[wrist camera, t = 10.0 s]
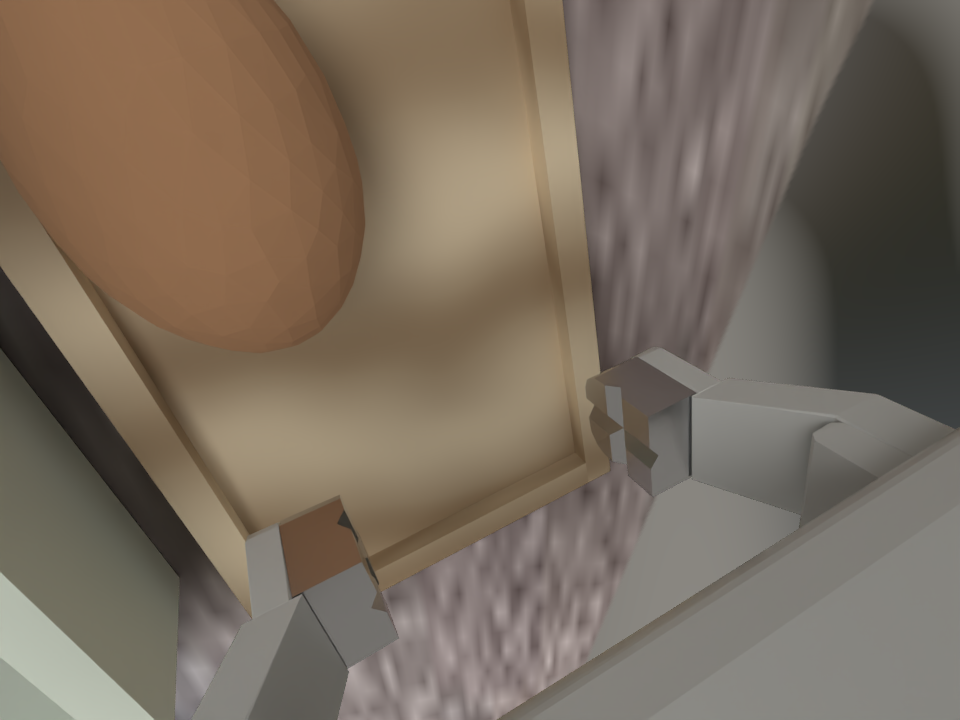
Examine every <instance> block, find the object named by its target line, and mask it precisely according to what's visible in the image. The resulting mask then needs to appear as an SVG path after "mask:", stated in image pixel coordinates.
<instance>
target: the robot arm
mask: <svg viewBox="0 0 960 720" xmlns="http://www.w3.org/2000/svg"><path fill="white" fill-rule="evenodd" d="M585 389H586V398H587V399H588V400H589V401H590V402H592V403H593V404H594V407H593V409H592V412H591V414H590V416H589V421H590V426H591V432H592V434H593V436H594V438H595V440H596V443H597V445H598V446H599V447H600V449H601V450H602V451H603V453H604V454H605V455H606V456H607V457H608V458H609V459H611V460H612V461H613V462H618V463H622V464H626V465H627V469H628V476H629V477H630V478H632V479H633V480H634V481H635V482H636V483H637V484H638V485H639V486H641V487H642V488H643V489H644V490H645V491H646V492H647V493H648V494H650V495H651V496H652V497H654V496H656V495H658V494H660V493H662V492H663V491H665V490H667V489H669V488H671V487H673V486H675V485H677V484H679V483H681V482H683V481H684V480H687V479H689V478H690V477H692V480H695V481H698V482H701V483H704V484H707V485H711V486H714V487H717V488H720V489H723V490H726V491H729V492H732V493H735V494H738V495H741V496H744V497H747V498H750V499H753V500H756V501H760V502H763V503H766V504H769V505H772V506H775V507H778V508H781V509H784V510H787V511H790V512H793V513H796V514H799V515H801V518H800V525H799V529H798V530H796V531H794V532H793V533H791V534H790V535H788V536H787V537H785V538H783V539H782V540H780V541H779V542H777V543H775V544H774V545H772V546H771V547H769V548H768V549H766V550H765V551H763V552H761V553H760V554H758V555H756V556H755V557H753V558H752V559H750V560H749V561H747V562H745V563H744V564H742V565H741V566H739V567H738V568H736V569H735V570H733V571H731V572H730V573H728V574H726V575H725V576H723V577H722V578H720V579H719V580H717V581H716V582H714V583H712V584H711V585H709V586H708V587H706V588H704V589H703V590H701V591H700V592H698V593H696V594H695V595H693V596H692V597H690V598H689V599H687V600H686V601H684V602H682V603H681V604H679V605H678V606H676V607H674V608H673V609H671V610H670V611H668V612H666V613H665V614H663V615H662V616H660V617H659V618H657V619H655V620H654V621H652V622H651V623H649V624H648V625H646V626H644V627H643V628H641V629H640V630H638V631H636V632H635V633H633V634H632V635H630V636H628V637H627V638H625V639H624V640H622V641H621V642H619V643H617V644H616V645H614V646H613V647H611V648H609V649H608V650H606V651H605V652H603V653H602V654H600V655H598V656H597V657H595V658H594V659H592V660H590V661H589V662H587V663H586V664H584V665H583V666H581V667H579V668H578V669H576V670H575V671H573V672H571V673H570V674H568V675H567V676H565V677H564V678H562V679H560V680H559V681H557V682H556V683H554V684H552V685H551V686H549V687H548V688H546V689H545V690H543V691H541V692H540V693H538V694H537V695H535V696H533V697H532V698H530V699H529V700H527V701H526V702H524V703H522V704H521V705H519V706H518V707H516V708H514V709H513V710H511V711H510V712H508V713H507V714H505V715H503V716H502V717H500V718H499V719H497V720H960V427H959V428H957V429H956V430H955V429H953V428H951V427H949V426H946V425H944V424H942V423H940V422H937V421H935V420H933V419H931V418H928V417H926V416H924V415H922V414H920V413H917V412H915V411H913V410H911V409H909V408H906V407H904V406H902V405H900V404H898V403H895V402H893V401H891V400H889V399H886V398H884V397H882V396H880V395H877V394H870V393H861V392H851V391H842V390H833V389H825V388H816V387H806V386H797V385H788V384H779V383H770V382H761V381H751V380H743V379H734V378H727V379H725V380H723V381H720V380H719V379H717V378H715V377H713V376H711V375H710V374H708V373H706V372H704V371H702V370H700V369H699V368H697V367H695V366H693V365H691V364H690V363H688V362H686V361H684V360H682V359H681V358H679V357H677V356H675V355H673V354H672V353H670V352H668V351H666V350H664V349H663V348H660V347H652V348H650V349H648V350H646V351H644V352H642V353H640V354H638V355H636V356H634V357H632V358H631V359H629V360H627V361H625V362H623V363H621V364H619V365H617V366H614V367H612V368H610V369H608V370H606V371H604V372H602V373H600V374H598V375H595V376H593V377H591V378H589V379H587V382H586V386H585ZM245 549H246V559H247V570H248V580H249V591H250V601H251V611H252V620H250V621H248V622H246V623H244V624H242V626H241V627H240V629H239V631H238V633H237V635H236V637H235V639H234V641H233V643H232V644H231V646H230V648H229V650H228V652H227V654H226V656H225V658H224V659H223V661H222V663H221V665H220V667H219V669H218V671H217V673H216V674H215V676H214V678H213V680H212V682H211V684H210V686H209V688H208V689H207V691H206V693H205V695H204V697H203V699H202V701H201V703H200V704H199V706H198V708H197V710H196V712H195V714H194V716H193V718H192V719H191V720H337V718H338V714H339V710H340V706H341V702H342V698H343V694H344V690H345V686H346V682H347V678H348V673H349V671H348V670H347V669H348V668H350V667H351V666H353V665H355V664H356V663H358V662H360V661H361V660H363V659H365V658H366V657H368V656H370V655H372V654H373V653H375V652H377V651H378V650H380V649H382V648H383V647H385V646H387V645H388V644H390V643H392V642H394V641H395V640H397V639H399V637H398V634H397V631H396V628H395V625H394V623H393V620H392V617H391V614H390V611H389V609H388V606H387V603H386V601H385V599H384V597H383V595H382V593H381V590H380V588H379V586H378V585H379V581H378V578H377V576H376V573H375V570H374V568H373V565H372V563H371V560H370V558H369V555H368V553H367V551H366V548H365V546H364V544H363V541H362V539H361V537H360V535H359V533H358V531H357V530H355V528H354V525H353V522H352V520H351V517H350V514H349V511H348V509H347V507H346V505H345V503H344V501H343V499H342V498H341V496H340V495H338V496H335V497H333V498H331V499H329V500H326V501H324V502H322V503H319V504H317V505H315V506H313V507H310V508H308V509H306V510H304V511H301V512H299V513H297V514H294V515H292V516H290V517H288V518H285V519H283V520H281V521H280V522H279V523H275V524H273V525H271V526H268V527H266V528H264V529H262V530H259V531H257V532H255V533H253V534H251V535H248V536H247V539H246V542H245Z"/></svg>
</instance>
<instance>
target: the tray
mask: <svg viewBox="0 0 960 720" xmlns="http://www.w3.org/2000/svg"><path fill="white" fill-rule="evenodd" d="M274 1H275V2H276V4H277V5H278V6H279V7H280V8H281V10H282V11H283V12H284V13H285V14H286V15H287V17H288V18H289V19H290V20H291V22H292V24H293V25H294V27H295V29H296V30H297V32H298V33H299V35H300V37H301V38H302V40H303V42H304V43H305V45H306V46H307V48H308V50H309V51H310V53H311V55H312V56H313V58H314V59H315V61H316V63H317V64H318V66H319V68H320V69H321V71H322V72H323V74H324V76H325V78H326V81H327V83H328V85H329V88H330V90H331V92H332V95H333V97H334V99H335V101H336V104H337V106H338V108H339V111H340V113H341V115H342V117H343V120H344V122H345V125H346V128H347V131H348V134H349V136H350V139H351V142H352V145H353V148H354V151H355V154H356V157H357V161H358V165H359V170H360V175H361V179H362V185H363V199H364V212H365V231H364V239H363V246H362V253H361V258H360V262H359V265H358V269H357V273H356V276H355V280H354V284H353V286H352V288H351V290H350V292H349V294H348V296H347V298H346V300H345V302H344V304H343V306H342V308H341V309H340V310H339V311H338V312H337V313H336V315H335V316H334V317H333V318H332V319H331V320H330V322H329V323H328V324H327V325H326V326H325V327H324V328H323V330H322V331H320V332H319V333H318V334H316V335H315V336H313V337H311V338H309V339H308V340H306V341H304V342H302V343H301V344H299V345H296V346H293V347H288V348H284V349H280V350H275V351H270V352H265V353H252V352H241V351H232V350H227V349H222V348H218V347H213V346H209V345H205V344H202V343H198V342H195V341H191V340H188V339H185V338H183V337H181V336H178V335H176V334H173V333H171V332H169V331H166V330H164V329H162V328H159V327H157V326H155V325H154V324H152V323H150V322H148V321H147V320H145V319H144V318H142V317H141V316H139V315H138V314H136V313H135V312H133V311H132V310H130V309H129V308H127V307H126V306H124V305H123V304H121V303H120V302H118V301H117V300H115V299H114V298H112V297H111V296H109V295H108V294H107V293H106V292H104V291H103V290H102V289H101V288H100V287H99V286H97V285H96V284H95V283H94V282H93V281H91V280H90V279H89V278H88V277H87V276H86V275H85V274H84V273H83V272H82V271H81V270H80V269H79V268H78V266H77V265H76V264H75V263H74V262H73V261H72V260H71V259H70V258H69V257H68V256H67V254H66V253H65V252H64V251H63V250H62V249H61V248H60V247H59V246H58V245H57V244H56V242H55V241H54V240H53V239H52V238H51V236H50V235H49V233H48V232H47V231H46V229H45V228H44V227H43V225H42V224H41V222H40V221H39V220H38V218H37V217H36V216H35V214H34V213H33V211H32V210H31V209H30V207H29V206H28V205H27V203H26V202H25V200H24V199H23V198H22V196H21V195H20V194H19V192H18V190H17V189H16V187H15V185H14V183H13V182H12V180H11V178H10V176H9V174H8V173H7V171H6V169H5V167H4V166H3V164H2V162H1V160H0V267H1V268H2V269H3V271H4V272H5V274H6V275H7V276H8V278H9V279H10V281H11V282H12V283H13V285H14V286H15V288H16V289H17V290H18V292H19V293H20V295H21V296H22V297H23V299H24V300H25V302H26V303H27V304H28V306H29V307H30V309H31V310H32V311H33V313H34V314H35V316H36V317H37V318H38V320H39V321H40V323H41V324H42V325H43V327H44V328H45V330H46V331H47V332H48V334H49V335H50V337H51V338H52V339H53V341H54V342H55V344H56V345H57V347H58V348H59V349H60V351H61V352H62V354H63V355H64V356H65V358H66V359H67V361H68V362H69V363H70V365H71V366H72V368H73V369H74V370H75V372H76V373H77V375H78V376H79V377H80V379H81V380H82V382H83V383H84V384H85V386H86V387H87V389H88V390H89V391H90V393H91V394H92V396H93V397H94V398H95V400H96V401H97V403H98V404H99V405H100V407H101V408H102V410H103V411H104V412H105V414H106V415H107V417H108V418H109V419H110V421H111V422H112V424H113V425H114V426H115V428H116V429H117V431H118V432H119V433H120V435H121V436H122V438H123V439H124V440H125V442H126V443H127V445H128V446H129V447H130V449H131V450H132V452H133V453H134V454H135V456H136V457H137V459H138V460H139V461H140V463H141V464H142V466H143V467H144V468H145V470H146V471H147V473H148V474H149V475H150V477H151V478H152V480H153V481H154V482H155V484H156V485H157V487H158V488H159V489H160V491H161V492H162V494H163V495H164V496H165V498H166V499H167V501H168V502H169V503H170V505H171V506H172V508H173V509H174V510H175V512H176V513H177V515H178V516H179V517H180V519H181V520H182V522H183V523H184V524H185V526H186V527H187V529H188V530H189V531H190V533H191V534H192V536H193V537H194V538H195V540H196V541H197V543H198V544H199V545H200V547H201V548H202V550H203V551H204V552H205V554H206V555H207V557H208V558H209V559H210V561H211V562H212V564H213V565H214V566H215V568H216V569H217V571H218V572H219V573H220V575H221V576H222V578H223V579H224V580H225V582H226V583H227V585H228V586H229V587H230V589H231V590H232V592H233V593H234V594H235V596H236V597H237V599H238V600H239V601H240V603H241V604H242V606H243V607H244V608H245V610H246V611H247V613H248V614H249V615H250V617H251V618H252V611H251V601H250V591H249V580H248V570H247V559H246V549H245V542H246V539H247V536H248V535H251V534H253V533H255V532H257V531H259V530H262V529H264V528H266V527H268V526H271V525H273V524H275V523H279V522H280V521H281V520H283V519H285V518H288V517H290V516H292V515H294V514H297V513H299V512H301V511H304V510H306V509H308V508H310V507H313V506H315V505H317V504H319V503H322V502H324V501H326V500H329V499H331V498H333V497H335V496H338V495H340V496H341V498H342V499H343V501H344V503H345V505H346V507H347V509H348V511H349V514H350V517H351V520H352V522H353V525H354V528H355V530H357V531H358V533H359V535H360V537H361V539H362V541H363V544H364V546H365V548H366V551H367V553H368V555H369V558H370V560H371V563H372V565H373V568H374V570H375V573H376V576H377V578H378V581H379V585H378V586H379V588H380V590H381V592H382V591H384V590H385V589H387V588H389V587H391V586H393V585H395V584H397V583H399V582H401V581H402V580H404V579H406V578H408V577H410V576H412V575H414V574H416V573H418V572H420V571H421V570H423V569H425V568H427V567H429V566H431V565H433V564H435V563H437V562H439V561H440V560H442V559H444V558H446V557H448V556H450V555H452V554H454V553H456V552H458V551H459V550H461V549H463V548H465V547H467V546H469V545H471V544H473V543H475V542H476V541H478V540H480V539H482V538H484V537H486V536H488V535H490V534H492V533H494V532H495V531H497V530H499V529H501V528H503V527H505V526H507V525H509V524H511V523H513V522H514V521H516V520H518V519H520V518H522V517H524V516H526V515H528V514H530V513H532V512H533V511H535V510H537V509H539V508H541V507H543V506H545V505H547V504H549V503H550V502H552V501H554V500H556V499H558V498H560V497H562V496H564V495H566V494H568V493H569V492H571V491H573V490H575V489H577V488H579V487H581V486H583V485H585V484H587V483H588V482H590V481H592V480H594V479H596V478H598V477H600V476H602V475H604V474H606V473H607V472H609V471H610V462H609V458H608V457H607V456H606V455H605V454H604V453H603V451H602V450H601V449H600V447H599V446H598V445H597V443H596V440H595V438H594V436H593V434H592V432H591V426H590V421H589V416H590V414H591V412H592V409H593V407H594V404H593V403H592V402H590V401H589V400H588V399H587V398H586V389H585V386H586V382H587V379H589V378H591V377H593V376H595V375H598V374H600V364H599V355H598V345H597V335H596V325H595V315H594V306H593V296H592V286H591V276H590V266H589V257H588V247H587V237H586V227H585V217H584V208H583V198H582V188H581V178H580V168H579V159H578V149H577V139H576V129H575V119H574V110H573V100H572V90H571V80H570V70H569V61H568V51H567V41H566V31H565V21H564V12H563V2H562V0H274Z"/></svg>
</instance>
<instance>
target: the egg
mask: <svg viewBox="0 0 960 720" xmlns="http://www.w3.org/2000/svg"><path fill="white" fill-rule="evenodd" d="M0 160H1V162H2V164H3V166H4V167H5V169H6V171H7V173H8V174H9V176H10V178H11V180H12V182H13V183H14V185H15V187H16V189H17V190H18V192H19V194H20V195H21V196H22V198H23V199H24V200H25V202H26V203H27V205H28V206H29V207H30V209H31V210H32V211H33V213H34V214H35V216H36V217H37V218H38V220H39V221H40V222H41V224H42V225H43V227H44V228H45V229H46V231H47V232H48V233H49V235H50V236H51V238H52V239H53V240H54V241H55V242H56V244H57V245H58V246H59V247H60V248H61V249H62V250H63V251H64V252H65V253H66V254H67V256H68V257H69V258H70V259H71V260H72V261H73V262H74V263H75V264H76V265H77V266H78V268H79V269H80V270H81V271H82V272H83V273H84V274H85V275H86V276H87V277H88V278H89V279H90V280H91V281H93V282H94V283H95V284H96V285H97V286H99V287H100V288H101V289H102V290H103V291H104V292H106V293H107V294H108V295H109V296H111V297H112V298H114V299H115V300H117V301H118V302H120V303H121V304H123V305H124V306H126V307H127V308H129V309H130V310H132V311H133V312H135V313H136V314H138V315H139V316H141V317H142V318H144V319H145V320H147V321H148V322H150V323H152V324H154V325H155V326H157V327H159V328H162V329H164V330H166V331H169V332H171V333H173V334H176V335H178V336H181V337H183V338H185V339H188V340H191V341H195V342H198V343H202V344H205V345H209V346H213V347H218V348H222V349H227V350H232V351H241V352H252V353H265V352H270V351H275V350H280V349H284V348H288V347H293V346H296V345H299V344H301V343H302V342H304V341H306V340H308V339H309V338H311V337H313V336H315V335H316V334H318V333H319V332H320V331H322V330H323V328H324V327H325V326H326V325H327V324H328V323H329V322H330V320H331V319H332V318H333V317H334V316H335V315H336V313H337V312H338V311H339V310H340V309H341V308H342V306H343V304H344V302H345V300H346V298H347V296H348V294H349V292H350V290H351V288H352V286H353V284H354V280H355V276H356V273H357V269H358V265H359V262H360V258H361V253H362V246H363V239H364V231H365V212H364V199H363V185H362V179H361V175H360V170H359V165H358V161H357V157H356V154H355V151H354V148H353V145H352V142H351V139H350V136H349V134H348V131H347V128H346V125H345V122H344V120H343V117H342V115H341V113H340V111H339V108H338V106H337V104H336V101H335V99H334V97H333V95H332V92H331V90H330V88H329V85H328V83H327V81H326V78H325V76H324V74H323V72H322V71H321V69H320V68H319V66H318V64H317V63H316V61H315V59H314V58H313V56H312V55H311V53H310V51H309V50H308V48H307V46H306V45H305V43H304V42H303V40H302V38H301V37H300V35H299V33H298V32H297V30H296V29H295V27H294V25H293V24H292V22H291V20H290V19H289V18H288V17H287V15H286V14H285V13H284V12H283V11H282V10H281V8H280V7H279V6H278V5H277V4H276V2H275V1H274V0H0Z"/></svg>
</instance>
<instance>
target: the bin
mask: <svg viewBox="0 0 960 720" xmlns="http://www.w3.org/2000/svg"><path fill="white" fill-rule="evenodd" d="M179 584H180V578H179V577H178V575H177V574H176V573H175V571H174V570H173V569H172V568H171V566H170V565H169V564H168V562H167V561H166V560H165V559H164V557H163V556H162V555H161V554H160V552H159V551H158V550H157V548H156V547H155V546H154V545H153V543H152V542H151V541H150V539H149V538H148V537H147V536H146V534H145V533H144V532H143V530H142V529H141V528H140V527H139V525H138V524H137V523H136V521H135V520H134V519H133V518H132V516H131V515H130V514H129V512H128V511H127V510H126V509H125V507H124V506H123V505H122V504H121V502H120V501H119V500H118V498H117V497H116V496H115V495H114V493H113V492H112V491H111V489H110V488H109V487H108V486H107V484H106V483H105V482H104V480H103V479H102V478H101V477H100V475H99V474H98V473H97V471H96V470H95V469H94V468H93V466H92V465H91V464H90V462H89V461H88V460H87V459H86V457H85V456H84V455H83V454H82V452H81V451H80V450H79V448H78V447H77V446H76V445H75V443H74V442H73V441H72V439H71V438H70V437H69V436H68V434H67V433H66V432H65V430H64V429H63V428H62V427H61V425H60V424H59V423H58V421H57V420H56V419H55V418H54V416H53V415H52V414H51V413H50V411H49V410H48V409H47V407H46V406H45V405H44V404H43V402H42V401H41V400H40V398H39V397H38V396H37V395H36V393H35V392H34V391H33V389H32V388H31V387H30V386H29V384H28V383H27V382H26V380H25V379H24V378H23V377H22V375H21V374H20V373H19V371H18V370H17V369H16V368H15V366H14V365H13V364H12V363H11V361H10V360H9V359H8V357H7V356H6V355H5V354H4V352H3V351H2V350H1V348H0V720H175V694H176V666H177V639H178V611H179Z"/></svg>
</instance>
